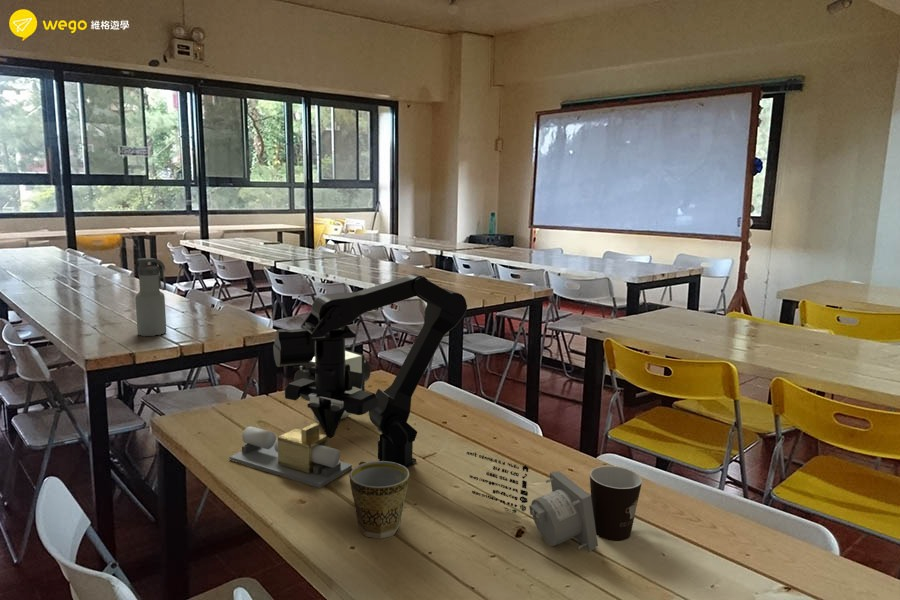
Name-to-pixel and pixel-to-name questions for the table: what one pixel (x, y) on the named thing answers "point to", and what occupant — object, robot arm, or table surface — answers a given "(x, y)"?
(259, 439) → the pipe run
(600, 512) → the brown paper cup
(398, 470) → the ceramic cup
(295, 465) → the coupling
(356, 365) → the ball valve
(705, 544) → the table surface
